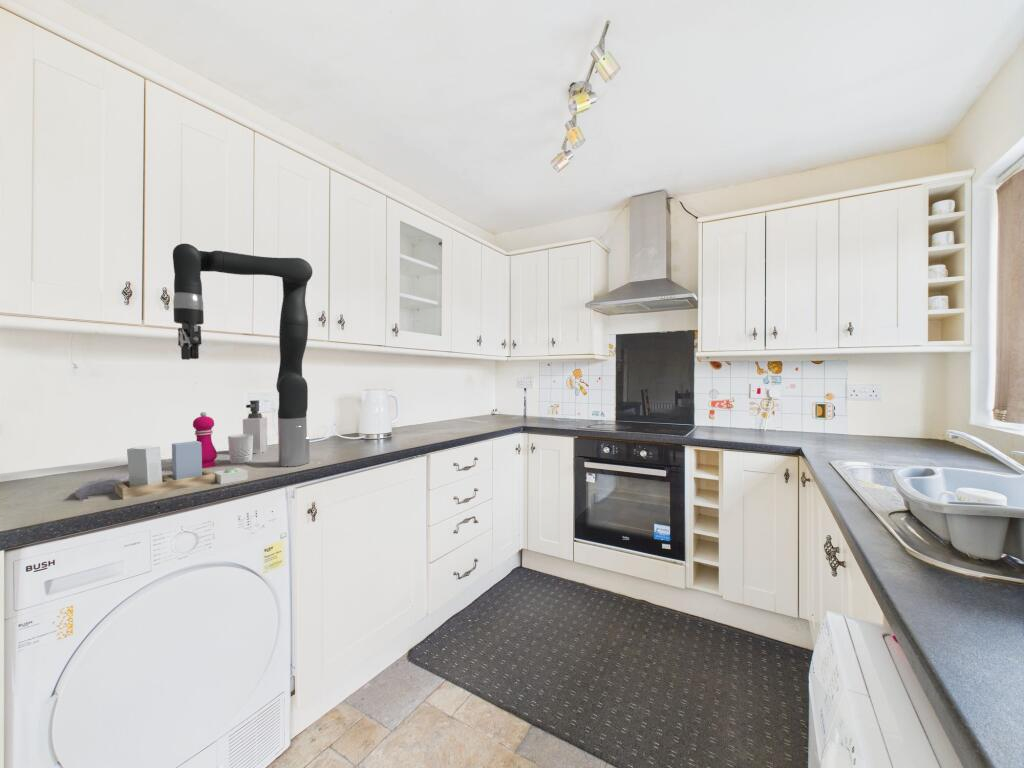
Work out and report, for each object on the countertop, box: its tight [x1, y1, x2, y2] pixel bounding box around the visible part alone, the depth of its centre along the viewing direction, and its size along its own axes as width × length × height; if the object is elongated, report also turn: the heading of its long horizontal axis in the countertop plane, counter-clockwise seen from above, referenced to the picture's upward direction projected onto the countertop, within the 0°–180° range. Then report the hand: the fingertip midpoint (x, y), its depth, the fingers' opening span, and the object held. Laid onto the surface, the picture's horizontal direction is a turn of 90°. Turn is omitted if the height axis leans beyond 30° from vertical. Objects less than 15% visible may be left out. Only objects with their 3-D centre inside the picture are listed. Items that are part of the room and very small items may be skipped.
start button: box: [224, 468, 235, 473], centre depth 124 cm, size 3×3×2 cm
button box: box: [212, 467, 249, 485], centre depth 124 cm, size 7×7×4 cm
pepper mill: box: [192, 411, 218, 469], centre depth 142 cm, size 7×7×20 cm
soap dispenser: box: [242, 400, 268, 454], centre depth 170 cm, size 6×9×22 cm
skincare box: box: [126, 445, 163, 487], centre depth 112 cm, size 6×4×12 cm
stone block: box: [74, 475, 129, 500], centre depth 114 cm, size 12×5×10 cm
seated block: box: [171, 440, 203, 480], centre depth 119 cm, size 6×4×12 cm, turn 143°
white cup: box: [227, 433, 253, 464], centre depth 153 cm, size 8×8×10 cm
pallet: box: [114, 468, 216, 500], centre depth 116 cm, size 20×11×4 cm, turn 143°
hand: (189, 359), depth 131 cm, fingers open, 8 cm apart
